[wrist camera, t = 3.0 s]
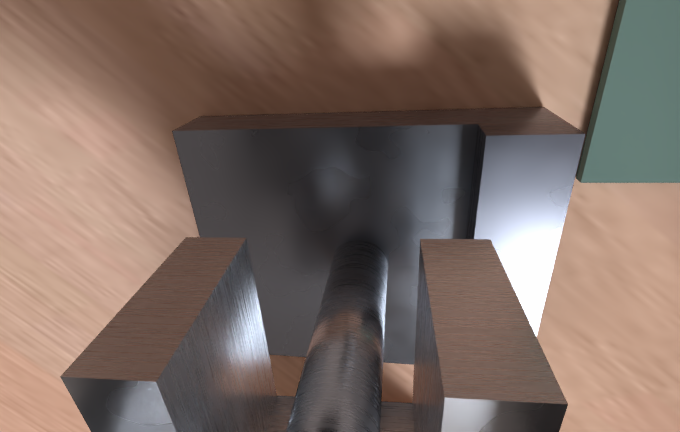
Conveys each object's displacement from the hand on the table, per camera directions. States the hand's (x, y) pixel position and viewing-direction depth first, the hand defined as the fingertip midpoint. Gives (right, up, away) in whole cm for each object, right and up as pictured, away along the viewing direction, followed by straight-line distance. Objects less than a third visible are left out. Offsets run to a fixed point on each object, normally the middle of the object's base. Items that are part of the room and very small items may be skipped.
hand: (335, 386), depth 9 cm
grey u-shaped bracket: (0, +1, +1) cm, 1 cm away
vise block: (+1, +3, +6) cm, 7 cm away
